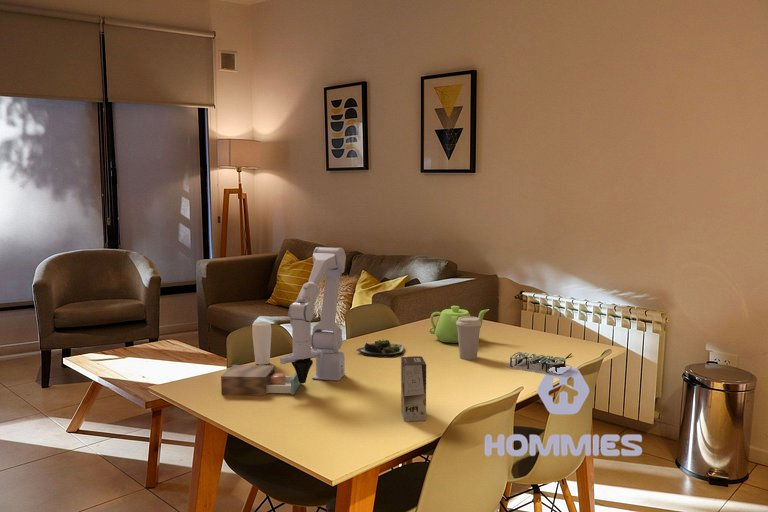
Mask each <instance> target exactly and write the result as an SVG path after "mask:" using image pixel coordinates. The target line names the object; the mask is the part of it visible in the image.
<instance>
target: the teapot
mask: <svg viewBox="0 0 768 512" xmlns="http://www.w3.org/2000/svg"><path fill="white" fill-rule="evenodd" d="M488 311H490V309H489V308H488V309H483V310H480V311H479V313H478V317H477V318H479V319H480V321H481V324H482V325H483V319H484V316H485V314H486V313H487V312H488ZM436 315H439V316H438V318H437V321H436V324H435V321H434V317H435V316H436ZM465 316H470V317H472V316H471V314H470V312H469V310H467V309H463V308H462V309H461V308H460V306H459V305H451V306H450V308H446V309H443V310H442V311H441V312H440V311H434V312H433V313H431V315H430V319H429V320H430V322H431V325H432V326H431V327H430V328H429V329H428V331H429V333H430V334H432V335H435V336H436V338H437V340H438V341H439V342H443V343H453V344H459V342H458V329H457V325H456V322H457V320H458V318H459V317H465ZM482 325H480V329H481V327H482Z"/></svg>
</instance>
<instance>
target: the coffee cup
mask: <svg viewBox="0 0 768 512" xmlns="http://www.w3.org/2000/svg"><path fill="white" fill-rule="evenodd" d="M470 316H471V315H470ZM470 316H465V317H459V318H458V320H457V322H456V325H457V329H458V342H459V343H458V352H459V353H458V355H459V359H461V360H465V361H473V360H476V359H477V358H478V351H479V350H478V349H479V341H480V333H481V332H480V331H481V328H480V325H481V326H482V325H483V323H482V324H481V321H480V319H479V318H478V317H477V316H471V317H470Z"/></svg>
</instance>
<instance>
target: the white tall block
mask: <svg viewBox="0 0 768 512" xmlns="http://www.w3.org/2000/svg"><path fill="white" fill-rule="evenodd" d="M251 325H252V328H251V330H252V331H251V332H252V335H251V336H252V343H253V353H254V365H257V364H259V365H264V364H267V365H269V364H270V362H271V343H272V322H270V321H255V322H253V323H252V324H251Z"/></svg>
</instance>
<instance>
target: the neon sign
mask: <svg viewBox="0 0 768 512" xmlns="http://www.w3.org/2000/svg"><path fill="white" fill-rule="evenodd" d="M571 355H572V353H569V354H568V355H567V356H566V357H560V356H554V357H553V355H544V354H539V355H537V354H536V353H531V354H530V353H528V352H522V351H518V352H515V353H514V354H512V355H510V359H509V362H508V363H506V364H505V365H504V366H505V368H508V369H511V370H522V371H525V372H531V373H537V374H543V375H548V376H559V375H558V374H557V373H553V372H550V371H549V369H550V368H552V367H555V371H556V372H557V368H560V367H566V366H570V365H569V364H566V360H567V359H568V358H569V357H570V356H571Z"/></svg>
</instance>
